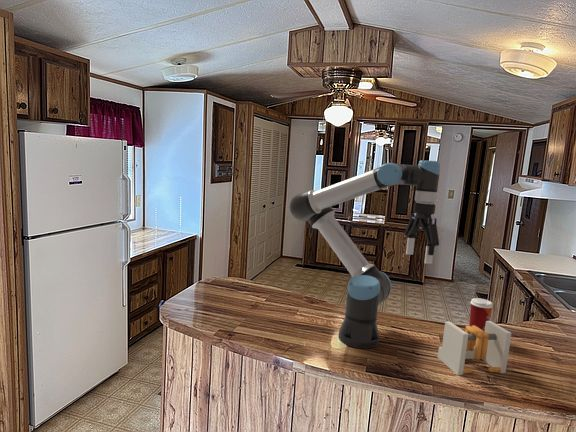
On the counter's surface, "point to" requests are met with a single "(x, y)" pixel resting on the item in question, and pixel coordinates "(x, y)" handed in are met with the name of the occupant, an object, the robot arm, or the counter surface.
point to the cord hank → (477, 342)
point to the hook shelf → (456, 348)
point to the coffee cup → (480, 312)
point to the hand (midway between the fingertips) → (418, 258)
